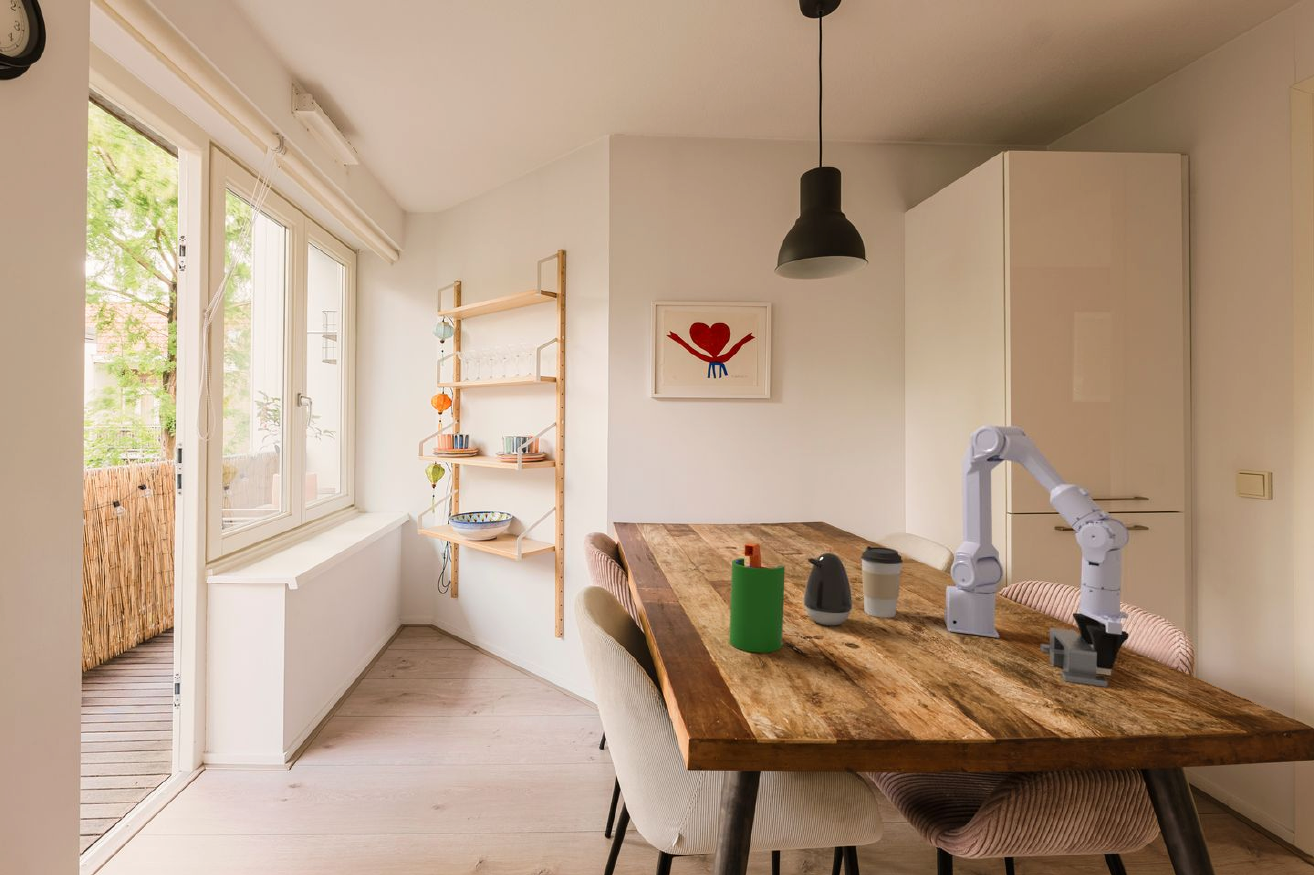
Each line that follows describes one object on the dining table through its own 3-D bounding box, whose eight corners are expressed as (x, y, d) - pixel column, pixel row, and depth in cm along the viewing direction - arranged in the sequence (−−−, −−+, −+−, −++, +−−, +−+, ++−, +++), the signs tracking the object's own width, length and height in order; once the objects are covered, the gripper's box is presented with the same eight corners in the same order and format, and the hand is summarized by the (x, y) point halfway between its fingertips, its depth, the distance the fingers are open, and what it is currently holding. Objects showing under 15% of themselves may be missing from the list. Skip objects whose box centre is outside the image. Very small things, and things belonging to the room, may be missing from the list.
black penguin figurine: (793, 616, 132) (795, 549, 131) (831, 612, 135) (833, 547, 135) (821, 632, 122) (823, 559, 122) (861, 627, 126) (863, 556, 126)
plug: (1054, 667, 106) (1055, 647, 106) (1047, 659, 110) (1048, 639, 110) (1110, 675, 104) (1111, 654, 104) (1101, 666, 107) (1102, 646, 107)
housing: (1065, 680, 101) (1066, 652, 101) (1040, 648, 116) (1041, 623, 116) (1107, 687, 99) (1108, 657, 98) (1076, 653, 114) (1077, 627, 113)
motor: (785, 641, 116) (788, 540, 116) (775, 657, 108) (778, 548, 108) (736, 632, 120) (739, 535, 120) (722, 647, 112) (725, 543, 112)
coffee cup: (904, 611, 138) (906, 547, 137) (896, 621, 130) (899, 554, 130) (864, 604, 142) (866, 543, 142) (855, 614, 135) (857, 549, 135)
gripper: (1145, 599, 97) (1142, 681, 97) (1112, 579, 111) (1109, 650, 111) (1094, 594, 100) (1091, 673, 100) (1068, 575, 113) (1065, 645, 113)
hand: (1097, 661), depth 106 cm, fingers open, 6 cm apart
